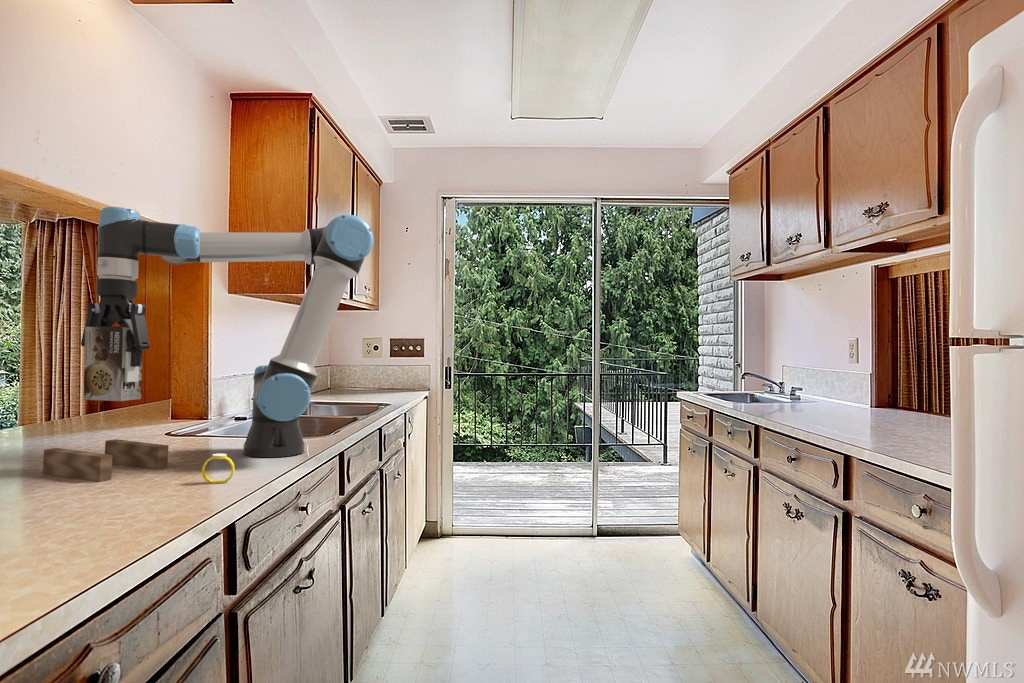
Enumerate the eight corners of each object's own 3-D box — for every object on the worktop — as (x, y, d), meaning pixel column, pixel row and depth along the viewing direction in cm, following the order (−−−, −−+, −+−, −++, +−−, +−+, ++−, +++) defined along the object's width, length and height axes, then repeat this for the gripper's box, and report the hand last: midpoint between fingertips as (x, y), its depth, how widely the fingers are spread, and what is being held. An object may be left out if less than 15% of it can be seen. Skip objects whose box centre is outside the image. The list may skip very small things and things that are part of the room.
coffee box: (142, 399, 131) (145, 327, 131) (120, 401, 125) (123, 326, 125) (105, 397, 132) (107, 326, 132) (81, 400, 125) (84, 325, 126)
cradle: (167, 467, 133) (168, 445, 133) (99, 481, 118) (100, 457, 118) (114, 460, 138) (115, 439, 138) (42, 473, 123) (43, 449, 123)
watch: (233, 482, 124) (237, 454, 124) (231, 485, 121) (234, 456, 121) (202, 480, 122) (206, 452, 122) (199, 483, 119) (203, 454, 120)
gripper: (63, 277, 128) (58, 378, 128) (141, 276, 122) (137, 384, 121) (96, 280, 135) (92, 377, 135) (171, 281, 129) (167, 382, 129)
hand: (113, 380), depth 128 cm, fingers closed on coffee box, 10 cm apart
